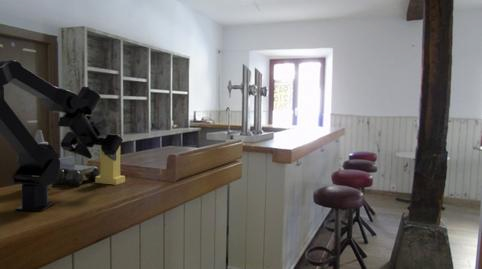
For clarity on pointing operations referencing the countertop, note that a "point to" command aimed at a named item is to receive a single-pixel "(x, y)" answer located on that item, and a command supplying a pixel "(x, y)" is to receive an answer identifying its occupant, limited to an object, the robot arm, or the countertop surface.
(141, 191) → the countertop surface
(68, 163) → the trolley
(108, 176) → the yellow block on base
